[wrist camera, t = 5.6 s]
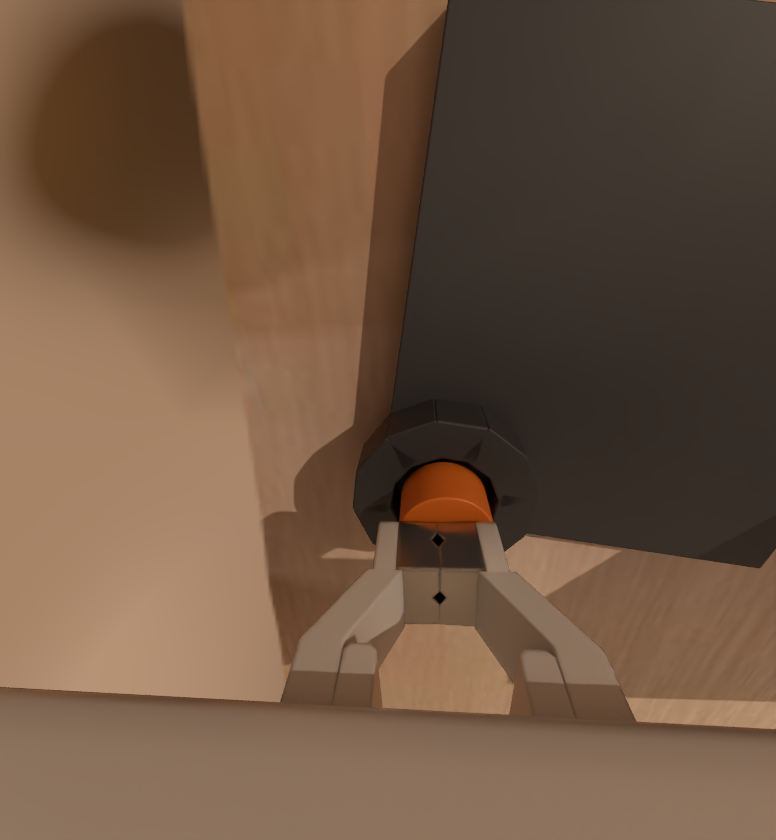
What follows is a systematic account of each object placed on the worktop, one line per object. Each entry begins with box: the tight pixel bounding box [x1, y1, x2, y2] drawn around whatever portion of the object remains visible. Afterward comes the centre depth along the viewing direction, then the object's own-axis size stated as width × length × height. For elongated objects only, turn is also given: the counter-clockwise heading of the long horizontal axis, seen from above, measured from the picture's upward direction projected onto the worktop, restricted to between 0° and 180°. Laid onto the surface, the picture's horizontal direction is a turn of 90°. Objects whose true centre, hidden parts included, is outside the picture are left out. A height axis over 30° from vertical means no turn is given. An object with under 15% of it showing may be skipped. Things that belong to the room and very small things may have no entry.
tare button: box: [399, 462, 493, 523], centre depth 11 cm, size 3×3×2 cm
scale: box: [353, 0, 776, 568], centre depth 10 cm, size 15×15×3 cm
